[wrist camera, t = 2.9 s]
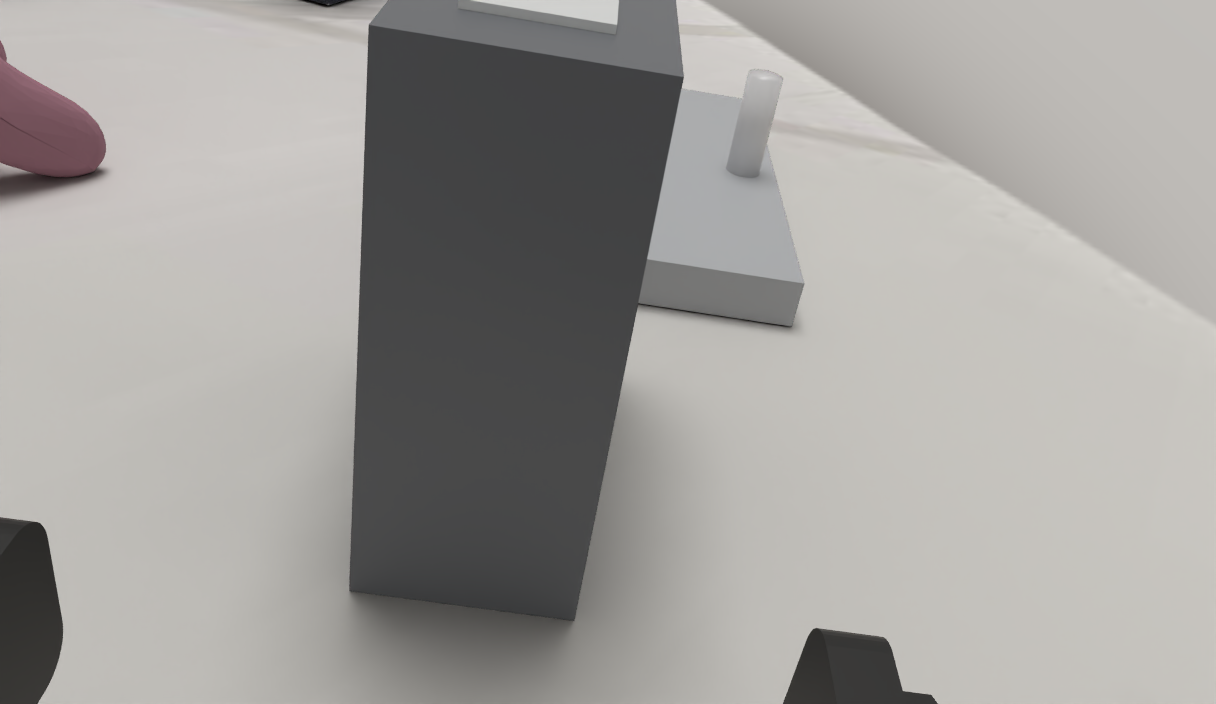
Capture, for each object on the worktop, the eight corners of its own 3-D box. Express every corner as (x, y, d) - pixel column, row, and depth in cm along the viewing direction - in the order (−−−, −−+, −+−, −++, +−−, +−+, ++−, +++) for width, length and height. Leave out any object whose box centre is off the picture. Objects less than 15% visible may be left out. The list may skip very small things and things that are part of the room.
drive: (573, 621, 21) (685, 66, 15) (349, 591, 20) (368, 13, 14) (592, 368, 28) (671, -66, 22) (428, 343, 28) (463, -101, 22)
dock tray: (791, 326, 32) (836, 174, 29) (394, 265, 31) (403, 103, 28) (747, 134, 45) (775, 18, 42) (469, 88, 44) (480, -33, 42)
